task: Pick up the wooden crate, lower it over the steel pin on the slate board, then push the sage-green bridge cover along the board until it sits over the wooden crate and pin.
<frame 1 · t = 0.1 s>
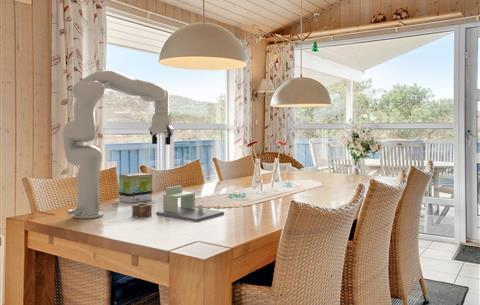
hand: (161, 144, 219), 31 cm above the table, fingers open, 9 cm apart
cover: (179, 198, 195), point 7 cm above the table, slide at 0.0 cm
board: (190, 214, 191), on the table
wooden crate: (141, 215, 186), on the table
tea box: (135, 201, 225), on the table
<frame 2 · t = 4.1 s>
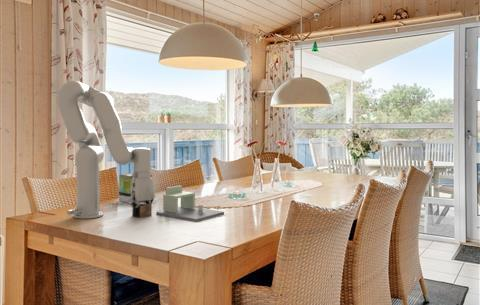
hand: (142, 214, 186), 1 cm above the table, fingers closed on wooden crate, 6 cm apart
wooden crate: (141, 215, 186), on the table, touching gripper
everything else where it was.
when the fingers open (4 cm above the table, at t = 10.1 s): wooden crate drops 2 cm, resting on board.
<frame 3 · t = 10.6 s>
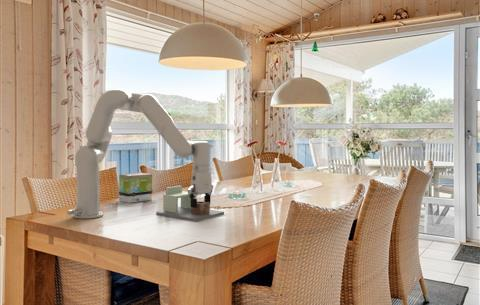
hand: (200, 205, 188), 5 cm above the table, fingers open, 9 cm apart
wooden crate: (200, 213, 188), point 1 cm above the table, touching board
everything else where it was.
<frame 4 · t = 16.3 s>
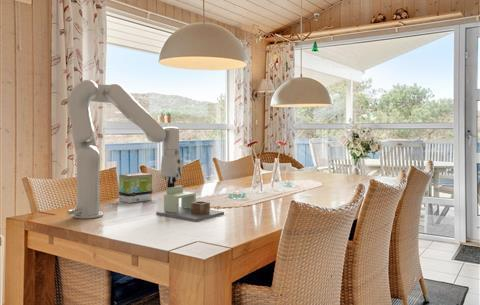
hand: (170, 191, 198), 10 cm above the table, fingers closed
cover: (180, 198, 194), point 7 cm above the table, slide at 0.5 cm, touching gripper
everything else where it was.
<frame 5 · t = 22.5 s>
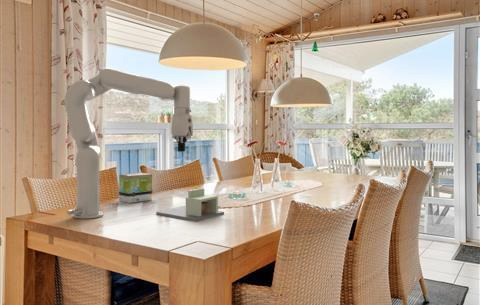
hand: (181, 151, 193), 29 cm above the table, fingers closed
cover: (202, 201, 187), point 7 cm above the table, slide at 13.8 cm
everything else where it was.
at the end: wooden crate 0.0 cm from the target spot on the board, point 1.2 cm above the board's base; cover slide at 13.8 cm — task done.
